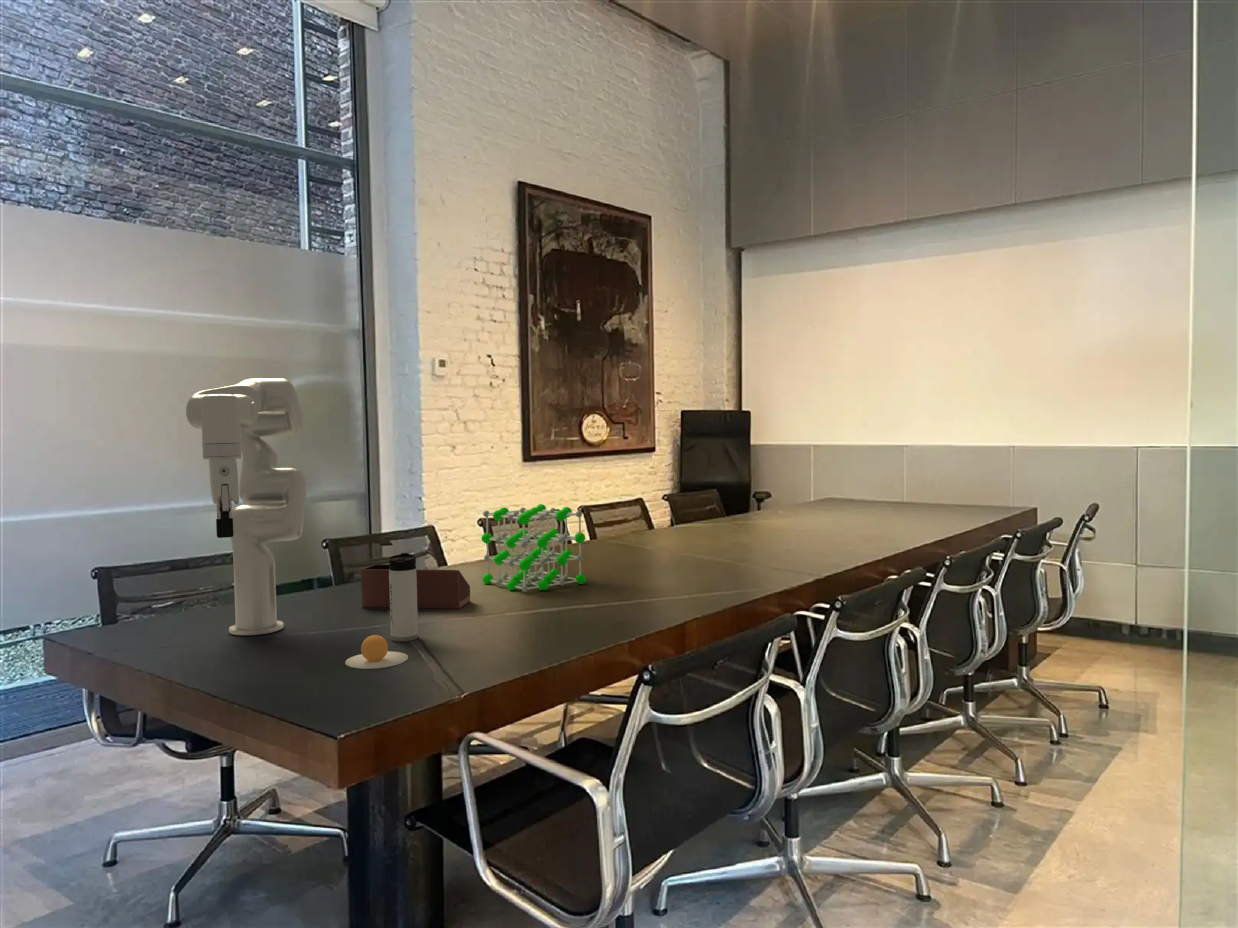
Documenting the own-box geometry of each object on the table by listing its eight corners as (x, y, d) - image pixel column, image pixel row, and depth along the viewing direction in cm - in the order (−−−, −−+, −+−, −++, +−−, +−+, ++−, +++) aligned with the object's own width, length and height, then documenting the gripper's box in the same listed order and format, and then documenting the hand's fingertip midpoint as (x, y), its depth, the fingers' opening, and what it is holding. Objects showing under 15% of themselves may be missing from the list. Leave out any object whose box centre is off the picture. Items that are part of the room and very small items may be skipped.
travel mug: (420, 634, 207) (418, 552, 207) (415, 641, 201) (412, 556, 200) (394, 635, 207) (392, 552, 206) (388, 642, 201) (385, 557, 200)
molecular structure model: (543, 574, 289) (542, 503, 288) (588, 584, 269) (587, 508, 268) (480, 584, 273) (478, 508, 272) (523, 595, 254) (522, 514, 253)
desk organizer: (375, 601, 249) (374, 563, 249) (472, 603, 245) (471, 564, 244) (359, 609, 239) (358, 569, 238) (460, 611, 234) (459, 570, 234)
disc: (340, 657, 188) (340, 656, 188) (399, 649, 194) (399, 648, 194) (352, 672, 176) (351, 671, 176) (414, 662, 183) (414, 662, 183)
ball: (367, 628, 186) (391, 638, 188) (355, 651, 186) (378, 661, 188) (370, 634, 181) (394, 644, 183) (357, 658, 180) (381, 668, 182)
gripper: (244, 452, 179) (247, 539, 180) (238, 450, 192) (241, 532, 193) (204, 453, 176) (207, 542, 177) (201, 451, 189) (204, 534, 190)
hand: (225, 536), depth 185 cm, fingers closed
